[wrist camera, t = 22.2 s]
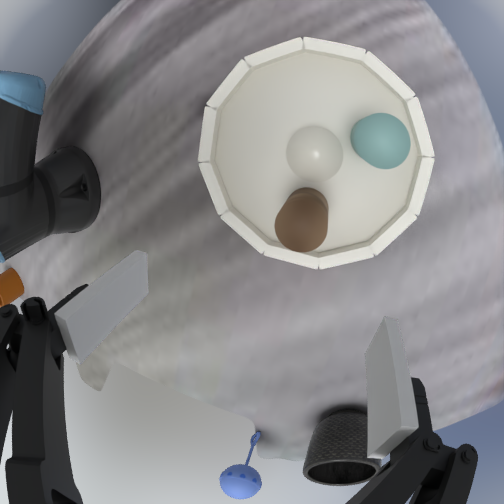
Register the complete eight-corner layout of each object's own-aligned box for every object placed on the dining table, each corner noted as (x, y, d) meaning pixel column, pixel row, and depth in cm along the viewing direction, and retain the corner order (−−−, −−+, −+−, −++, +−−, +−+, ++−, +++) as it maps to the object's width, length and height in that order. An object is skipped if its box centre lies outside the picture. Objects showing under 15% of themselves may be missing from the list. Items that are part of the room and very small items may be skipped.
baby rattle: (248, 418, 54) (222, 487, 38) (283, 433, 54) (263, 501, 38) (234, 431, 58) (208, 492, 42) (265, 444, 58) (245, 505, 42)
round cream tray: (172, 164, 36) (160, 168, 33) (298, 9, 24) (295, -1, 21) (319, 294, 38) (317, 306, 35) (462, 159, 25) (473, 162, 23)
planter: (333, 441, 51) (325, 489, 40) (299, 412, 49) (286, 467, 38) (391, 423, 45) (391, 476, 34) (364, 390, 43) (362, 452, 31)
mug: (4, 272, 64) (-15, 284, 56) (14, 264, 60) (-8, 278, 52) (16, 297, 67) (-3, 310, 59) (27, 292, 62) (6, 307, 54)
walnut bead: (282, 223, 34) (270, 245, 28) (290, 182, 32) (279, 195, 26) (323, 233, 33) (320, 258, 27) (333, 193, 31) (333, 208, 25)
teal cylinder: (399, 155, 27) (416, 162, 21) (358, 166, 29) (365, 175, 23) (385, 112, 26) (400, 107, 19) (344, 123, 27) (348, 120, 21)
